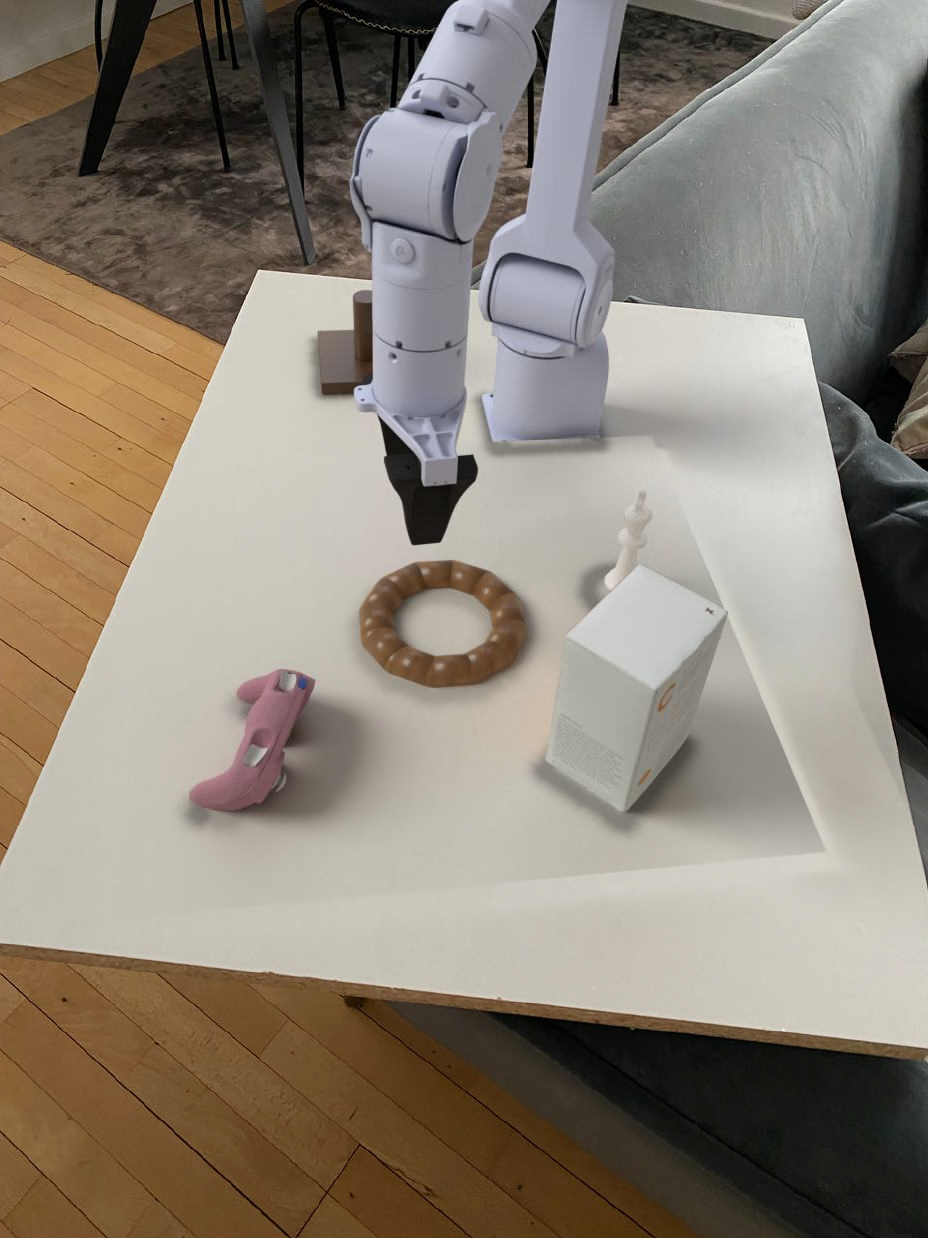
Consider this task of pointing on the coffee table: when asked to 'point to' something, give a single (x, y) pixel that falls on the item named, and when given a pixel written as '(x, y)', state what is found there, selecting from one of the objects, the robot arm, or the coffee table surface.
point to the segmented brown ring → (442, 668)
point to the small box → (631, 684)
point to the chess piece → (630, 539)
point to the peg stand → (348, 350)
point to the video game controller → (259, 742)
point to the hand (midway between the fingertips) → (415, 504)
